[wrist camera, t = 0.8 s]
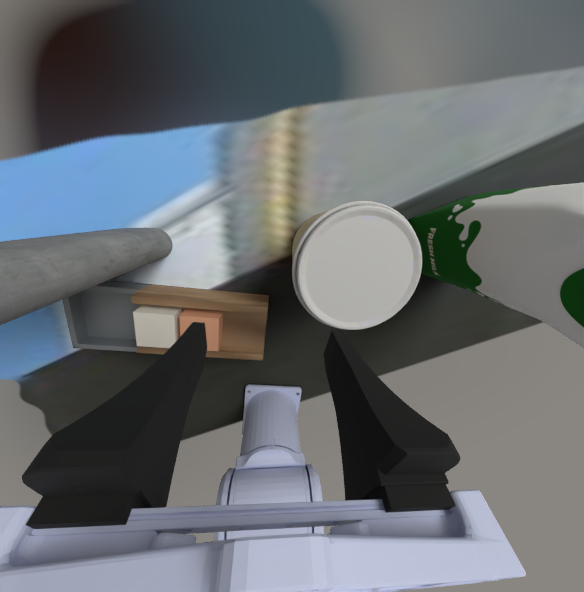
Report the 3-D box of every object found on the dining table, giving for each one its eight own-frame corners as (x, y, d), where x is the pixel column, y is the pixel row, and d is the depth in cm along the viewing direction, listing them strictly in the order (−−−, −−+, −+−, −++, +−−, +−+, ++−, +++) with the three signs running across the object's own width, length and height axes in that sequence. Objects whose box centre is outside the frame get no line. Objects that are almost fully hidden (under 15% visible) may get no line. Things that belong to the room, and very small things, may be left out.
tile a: (222, 341, 28) (218, 351, 26) (187, 339, 27) (180, 348, 25) (222, 311, 26) (218, 318, 24) (186, 308, 26) (179, 315, 24)
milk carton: (400, 213, 26) (705, 220, 8) (477, 183, 26) (1005, 112, 7) (413, 282, 30) (655, 406, 11) (482, 256, 29) (864, 339, 10)
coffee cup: (380, 245, 28) (452, 269, 16) (324, 300, 30) (355, 355, 18) (326, 185, 25) (368, 164, 14) (268, 250, 27) (264, 279, 16)
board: (264, 344, 31) (262, 361, 28) (153, 336, 29) (137, 353, 26) (268, 295, 29) (268, 306, 25) (149, 284, 27) (130, 295, 24)
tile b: (182, 339, 27) (175, 348, 25) (146, 336, 27) (136, 346, 25) (181, 307, 26) (174, 315, 24) (143, 304, 25) (132, 312, 23)
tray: (154, 343, 30) (145, 352, 28) (86, 339, 29) (73, 348, 27) (149, 284, 27) (139, 289, 25) (74, 277, 26) (58, 282, 24)
